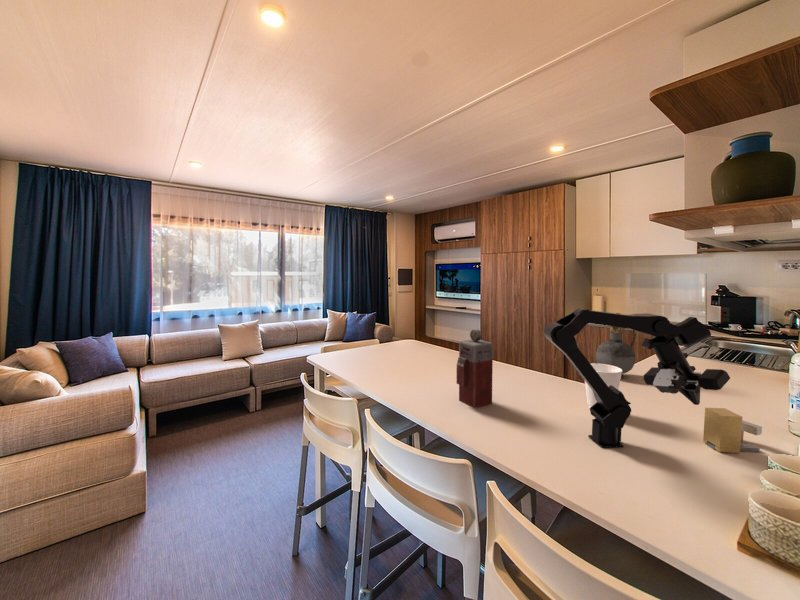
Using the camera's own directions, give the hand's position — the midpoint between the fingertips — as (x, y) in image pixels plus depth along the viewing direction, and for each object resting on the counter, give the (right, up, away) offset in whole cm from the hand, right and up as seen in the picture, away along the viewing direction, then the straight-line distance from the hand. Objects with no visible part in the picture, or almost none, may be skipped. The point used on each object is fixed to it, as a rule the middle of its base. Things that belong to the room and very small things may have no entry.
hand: (697, 404), depth 92 cm
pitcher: (+21, -7, +65) cm, 69 cm away
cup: (-12, -11, +24) cm, 29 cm away
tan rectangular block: (+7, -12, 0) cm, 14 cm away
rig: (+11, -12, +3) cm, 17 cm away
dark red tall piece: (-55, -10, +34) cm, 65 cm away
